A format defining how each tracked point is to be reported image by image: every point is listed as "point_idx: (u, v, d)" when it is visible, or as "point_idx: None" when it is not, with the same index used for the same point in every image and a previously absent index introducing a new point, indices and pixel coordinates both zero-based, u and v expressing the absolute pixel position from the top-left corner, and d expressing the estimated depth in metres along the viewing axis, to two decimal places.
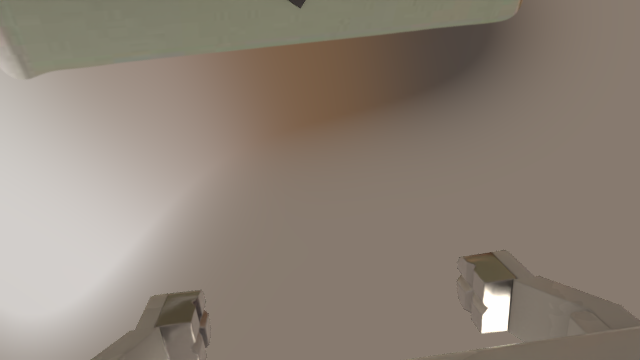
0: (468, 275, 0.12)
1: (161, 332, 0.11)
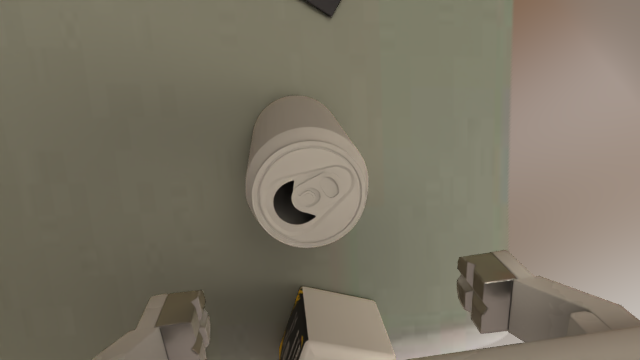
0: (468, 275, 0.12)
1: (161, 332, 0.11)
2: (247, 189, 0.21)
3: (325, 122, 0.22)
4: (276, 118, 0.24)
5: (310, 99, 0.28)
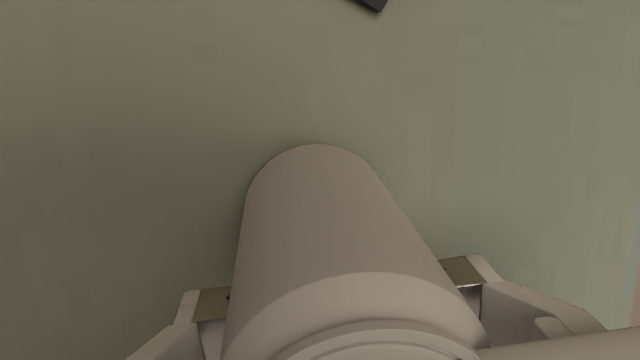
0: None
1: (198, 327, 0.11)
2: None
3: (392, 236, 0.10)
4: (285, 212, 0.12)
5: (342, 153, 0.17)
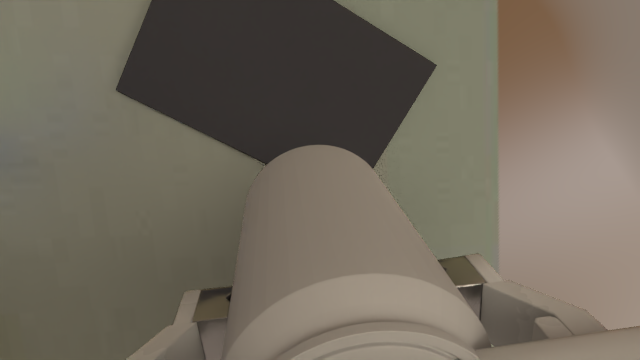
0: None
1: (198, 327, 0.11)
2: None
3: (393, 237, 0.10)
4: (286, 213, 0.12)
5: (342, 153, 0.17)
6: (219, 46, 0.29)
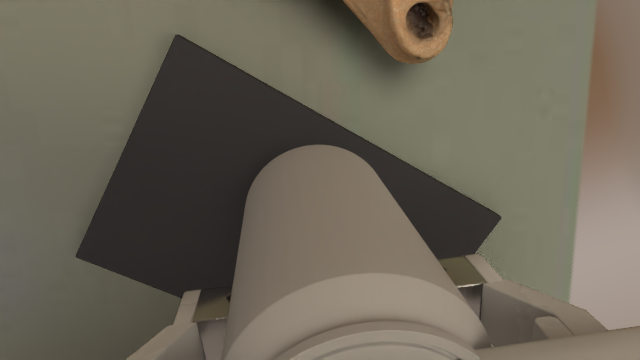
0: None
1: (198, 327, 0.11)
2: None
3: (393, 237, 0.10)
4: (286, 213, 0.12)
5: (342, 153, 0.17)
6: (216, 202, 0.22)
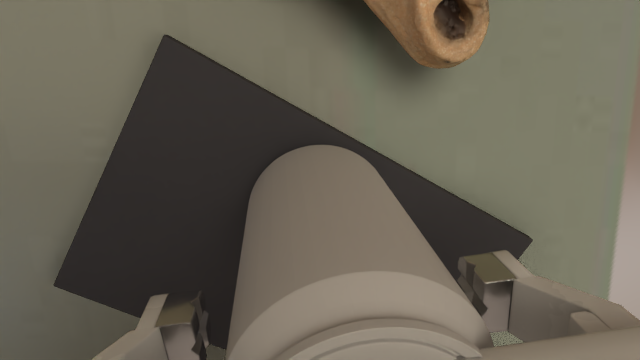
0: (468, 275, 0.12)
1: (161, 332, 0.11)
2: None
3: (396, 236, 0.10)
4: (290, 212, 0.12)
5: (345, 153, 0.17)
6: (212, 224, 0.19)
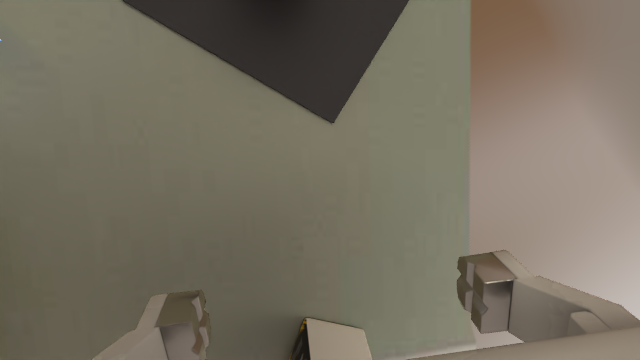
0: (468, 275, 0.12)
1: (161, 332, 0.11)
2: None
3: None
4: None
5: None
6: None
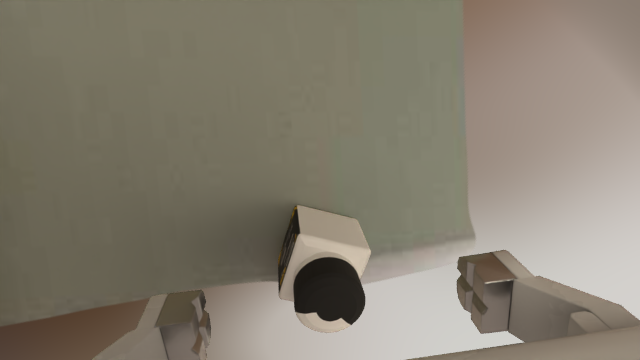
0: (468, 275, 0.12)
1: (161, 332, 0.11)
2: None
3: None
4: None
5: None
6: None
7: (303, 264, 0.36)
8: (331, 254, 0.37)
